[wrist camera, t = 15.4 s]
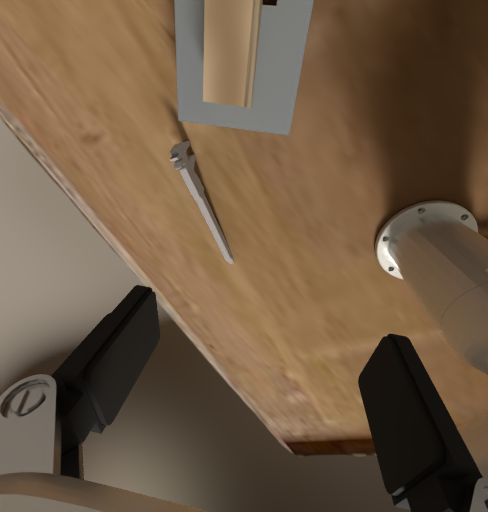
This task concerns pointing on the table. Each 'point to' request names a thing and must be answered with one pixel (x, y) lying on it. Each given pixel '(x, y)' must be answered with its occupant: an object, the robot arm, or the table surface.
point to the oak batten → (230, 50)
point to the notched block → (266, 74)
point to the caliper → (199, 194)
